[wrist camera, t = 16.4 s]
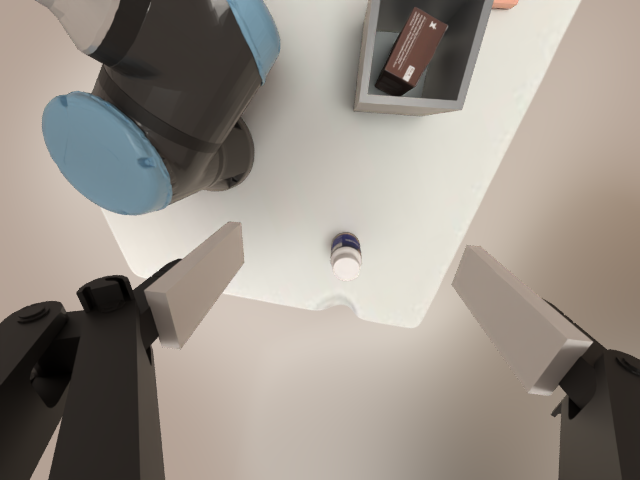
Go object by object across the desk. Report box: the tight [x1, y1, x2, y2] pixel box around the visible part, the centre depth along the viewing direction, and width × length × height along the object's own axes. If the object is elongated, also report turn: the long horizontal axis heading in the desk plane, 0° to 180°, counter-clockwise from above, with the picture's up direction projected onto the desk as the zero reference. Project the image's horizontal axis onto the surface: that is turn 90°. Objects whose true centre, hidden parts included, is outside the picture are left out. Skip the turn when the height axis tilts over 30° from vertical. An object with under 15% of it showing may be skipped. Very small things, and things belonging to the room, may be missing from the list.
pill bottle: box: [331, 233, 362, 281], centre depth 44 cm, size 6×6×10 cm
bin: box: [354, 0, 494, 116], centre depth 30 cm, size 11×11×14 cm
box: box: [375, 7, 448, 97], centre depth 30 cm, size 6×4×12 cm
